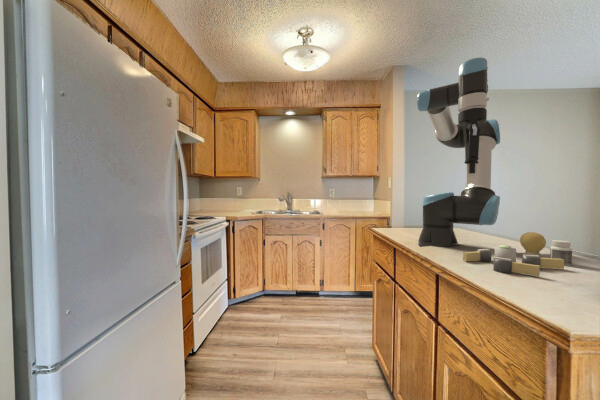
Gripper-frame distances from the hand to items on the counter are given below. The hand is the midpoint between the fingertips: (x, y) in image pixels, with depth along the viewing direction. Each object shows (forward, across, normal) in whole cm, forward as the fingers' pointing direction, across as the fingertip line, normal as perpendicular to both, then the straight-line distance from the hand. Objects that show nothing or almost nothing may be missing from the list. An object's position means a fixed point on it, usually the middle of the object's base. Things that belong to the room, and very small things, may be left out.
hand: (471, 183), depth 80 cm
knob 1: (+25, 0, -2) cm, 25 cm away
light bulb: (+27, +13, -19) cm, 35 cm away
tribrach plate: (+26, -3, -8) cm, 28 cm away
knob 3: (+25, -1, -17) cm, 30 cm away
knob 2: (+25, -10, -9) cm, 28 cm away
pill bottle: (+27, +8, -24) cm, 37 cm away
